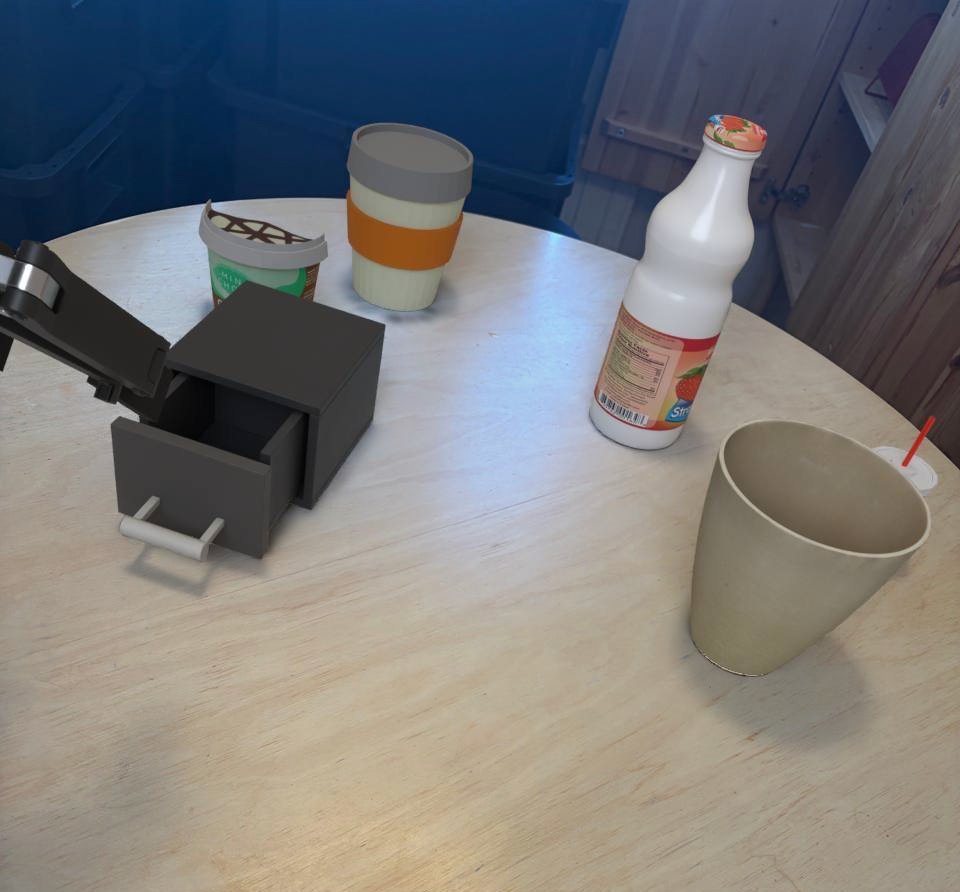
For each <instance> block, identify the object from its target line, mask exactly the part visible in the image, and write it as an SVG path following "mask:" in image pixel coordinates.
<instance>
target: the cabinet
mask: <svg viewBox="0 0 960 892" xmlns="http://www.w3.org/2000/svg"><path fill="white" fill-rule="evenodd" d="M386 327H387V324H385V323H382V322H380V321H376V320H374V319H370V318H367V317H365V316H361V315H357V314H354V313H352V312H348V311H345V310H342V309H340V308H336V307H332V306H329V305H326V304H324V303H320V302H317V301H314V300H313V301H311V300H308V299H305V298H302V297H298V296H295V295H292V294H289V293H286V292H283V291H280V290H277V289H273V288H270V287H267V286H264V285H261V284H258V283H255V282H252V281H248V280H245V281H244V282H243V283H242V284H241V285H240V286H239V287H238V288H237V289H235V290H234V291H233V292H232V293H231V294H230V295H229V296H228V297H227V298H226V299H224V300H223V301H222V302H221V303H220V304H219V305H218V306H217V307H216V308H214V307H213V309H212V310H211V311H210V312H209V313H207V314H206V316H204V317H203V318H202V319H201V320H200V321H199V322H198V323H196V325H194V326H193V327H192V328H191V329H190V330H189V331H188V332H186V333H185V334H184V335H183V336H182V337H181V338H180V339H179V340H178V341H176V342H175V344H173V345H171V346H170V349H169V352H168V356H167V358H166V361H165V364H164V366H166V367H167V368H168V369H169V370H171V371H172V372H173V373H174V374H173V377H172V380H173V379H174V378H175V377H176V376H177V375H178V374H179V373H180V372H183V373H186V374H189V375H192V376H195V377H198V378H201V379H205V380H208V381H211V382H214V383H217V384H220V385H223V386H226V387H229V388H232V389H235V390H238V391H241V392H244V393H247V394H250V395H253V396H257V397H260V398H263V399H266V400H269V401H272V402H275V403H278V404H281V405H284V406H287V407H290V408H293V409H296V410H299V411H302V412H305V413H308V414H310V416H309V428H308V441H307V453H306V466H305V478H304V484H303V485H302V487H301V488H300V489H299V491H298V492H297V493H296V495H295V496H294V498H293V499H292V500H291V502H290V503H289V504H291V505H294V506H297V507H299V508H303V509H306V510H308V511H312V510H313V509H314V506H315V505H316V504H317V502H318V501H319V499H320V498H321V497H322V495H323V494H324V492H325V491H326V489H327V488H328V486H329V485H330V484H331V482H332V481H333V479H334V478H335V477H336V475H337V473H338V472H339V471H340V469H341V468H342V466H343V465H344V464H345V462H346V460H347V459H348V457H349V456H350V455H351V454H352V452H353V451H354V449H355V447H356V446H357V445H358V443H359V442H360V440H361V439H362V437H364V435H365V433H366V431H368V429H369V427H370V426H371V424H372V423H373V421H374V417H375V409H376V402H377V393H378V386H379V378H380V373H381V365H382V364H381V363H382V358H383V357H382V356H383V350H384V349H383V348H384V342H385V335H386V334H385V333H386ZM172 380H171V381H172Z"/></svg>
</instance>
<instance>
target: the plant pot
mask: <svg viewBox="0 0 960 892" xmlns="http://www.w3.org/2000/svg"><path fill="white" fill-rule="evenodd" d="M932 525H933V519H932V514H931V510H930V507H929V505H928V502H927V500H926V498H925V496H924V497H923V495H922V494H921V492H920V491H919V489H918V488H917V487H916V485H915V484H914V483H913V482H912V481H911V480H910V479H909V478H908V476H907V475H906V474H905V473H903V472H902V471H901V470H900V469H899V468H898V467H897V466H895V465H894V464H893V463H892V462H890V461H889V460H888V459H886V458H885V457H883V456H882V455H881V454H879V453H878V452H876V451H874V450H873V448H871V447H869V446H868V445H866V444H864V443H862V442H861V441H859V440H857V439H855V438H852V437H851V436H848V435H846V434H844V433H841V432H840V431H837V430H834V429H832V428H829V427H826V426H823V425H820V424H816V423H812V422H808V421H804V420H798V419H791V418H789V419H788V418H782V417H781V418H778V417H777V418H776V417H775V418H773V417H770V418H768V417H767V418H758V419H752V420H748V421H746V422H742V423H741V424H739V425H735V426H734V427H733V428H731V429H730V430H728V432H727V433H726V434H725V435H724V436H723V438H722V440H721V442H720V444H719V448H718V451H717V455H716V458H715V462H714V465H713V468H712V472H711V476H710V480H709V483H708V487H707V491H706V495H705V499H704V503H703V507H702V511H701V517H700V520H699V527H698V531H697V538H696V545H695V549H694V550H695V551H694V559H693V566H692V574H691V575H692V576H691V577H692V578H691V590H690V592H691V593H690V636H691V635H692V636H691V638H693V639H692V641H693V640H694V642H695V644H696V645H697V647H698V648H699V650H701V651H702V653H703V654H705V656H707V657H708V658H709V659H710V660H712V661H713V662H715V663H717V664H718V665H720V666H721V667H724V668H726V669H728V670H731V671H734V672H738V673H742V674H747V675H761V674H766V673H768V674H770V673H772V672H774V671H775V670H777V669H779V668H780V667H782V666H783V665H785V664H787V663H788V662H790V661H792V660H793V659H795V658H796V657H797V656H799V655H800V654H802V653H803V652H806V651H807V650H808V649H809V648H811V647H812V646H814V645H815V644H816V643H819V641H820V640H822V639H823V638H825V637H826V636H827V635H828V634H830V633H831V632H832V631H834V630H835V629H836V628H837V627H839V626H840V625H841V624H842V623H844V622H845V621H846V620H848V618H849V617H851V616H852V615H853V614H854V613H856V611H857V610H859V609H860V608H862V606H864V605H865V603H867V602H868V601H869V600H870V599H871V598H872V597H873V596H874V595H875V594H877V592H879V591H880V590H881V588H883V587H884V586H885V585H886V584H887V583H888V582H889V580H891V579H892V577H894V575H895V574H896V573H897V572H898V571H900V570H901V568H902V567H903V566H904V565H905V564H906V563H907V562H908V561H909V560H910V559H911V558H912V557H913V556H914V555H915V553H916V552H917V551H919V550H920V548H921V547H922V546H923V545H924V544H925V542H926V541H927V540H928V538H929V536H930V535H931V532H932ZM694 642H693V643H694ZM695 644H694V645H695ZM696 645H695V646H696ZM697 647H696V648H697ZM698 648H697V649H698ZM699 650H698V651H699ZM769 672H770V673H769ZM766 675H767V674H766Z"/></svg>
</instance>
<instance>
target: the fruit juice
mask: <svg viewBox="0 0 960 892" xmlns="http://www.w3.org/2000/svg"><path fill="white" fill-rule="evenodd" d="M767 138H768V133H767V131H766V130H765V129H764V128H763V127H762V126H760V125H759V124H757V123H754V122H753V121H750V120H747V119H744V118H742V117H738V116H733V115H728V114H715V115H714V114H713V115H711V116H710V117H709V119H708V120H707V122H706V125H705V127H704V130H703V135H702V142H703V147H702V149H701V152H700V154H699V156H698V158H697V160H696V162H695V163H694V165H693V166H692V168H691V169H690V171H689V172H688V174H687V175H686V177H685V178H684V179H683V181H682V182H681V183H680V184H679V185H678V186H677V187H675V189H673V190H672V191H670V192H669V193H668V194H666V195H665V196H664V197H663V198H662V199H661V200H660V201H659V202H658V203H657V204H656V205H655V207H654V208H653V210H652V211H651V212H652V213H650V217H649V219H648V222H647V225H646V231H645V241H644V243H645V244H644V253H643V256H642V257H641V259H640V260H639V261H638V262H636V264H635V266H634V268H633V269H632V271H631V274H630V277H629V279H628V281H627V285H626V287H625V290H624V292H623V296H622V300H621V303H620V307H619V309H618V313H617V316H616V318H615V319H616V320H615V322H614V326H613V329H612V331H611V335H610V338H609V341H608V345H607V348H606V350H605V354H604V357H603V361H602V364H601V367H600V371H599V374H598V377H597V380H596V384H595V387H594V390H593V393H592V396H591V400H590V405H589V414H590V419H591V421H592V423H593V425H594V426H595V427H596V428H597V429H598V430H599V432H601V433H602V434H603V435H604V436H606V437H607V438H609V439H611V440H612V441H614V442H617V443H619V444H621V445H623V446H626V447H630V448H634V449H639V450H651V451H652V450H660V449H661V450H662V449H664V448H667V447H669V446H671V445H672V444H674V443H675V442H676V441H677V440H678V439H679V437H680V435H681V433H682V431H683V430H684V428H685V425H686V423H687V420H688V417H689V414H690V412H691V409H692V407H693V405H694V401H695V398H696V397H697V395H698V391H699V389H700V386H701V385H702V382H703V379H704V378H705V377H704V376H705V374H706V372H707V368H708V366H709V363H710V361H711V359H712V356H713V354H714V352H715V348H716V346H717V344H718V341H719V338H720V336H721V334H722V331H723V329H724V327H725V324H726V321H727V319H728V315H729V312H730V309H731V305H732V303H733V302H732V301H733V284H734V282H735V279H736V278H737V276H738V275H739V274H740V272H741V271H742V269H743V268H744V267H745V266H746V263H747V262H748V260H749V259H750V256H751V253H752V250H753V246H754V243H755V242H754V241H755V228H754V223H753V219H752V215H751V214H750V213H751V212H750V210H749V199H748V198H749V189H750V185H749V184H750V179H751V173H752V170H753V166H754V163H755V161H756V160H757V159H758V158H759V157H760V156H761V155H762V152H763V150H764V149H765V146H766V142H767Z"/></svg>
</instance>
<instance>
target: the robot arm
mask: <svg viewBox="0 0 960 892" xmlns="http://www.w3.org/2000/svg"><path fill="white" fill-rule="evenodd" d="M19 245H20V246H19V247H18V248H17V249H16V252H14V250H13V249H12V247H11V246H9V245H8V244H7V243H5V242H4V241H2V240H0V372H4V370H5V367H6V364H7V361H8V358H9V355H10V352H11V350H12V347H13V344H14V341H15V340H16V341H17V342H20V343H22V344H24V345H26V346H27V347H30V348H32V349H34V350H36V351H38V352H40V353H42V354H43V355H46V356H48V357H49V358H52V359H54V360H56V361H57V362H60V363H62V364H64V365H66V366H68V367H70V368H71V369H74V370H76V371H78V372H80V373H82V374H83V375H86V376H87V378H86V384H89V385H91V386H92V387H94V388H95V391H94V393H93V398H95V399H97V400H100V401H102V402H104V403H107V404H110V405H117V404H118V403H119V404H120V405H122V406H123V407H125V408H126V409H128V410H130V411H131V412H132V413H134V414H136V415H138V417H139V416H141V417H142V418H144V419H147V420H150V421H153V422H156V423H157V421H158V418H159V415H160V412H161V409H162V407H163V404H164V401H165V398H166V395H167V392H168V389H169V386H170V383H171V380H172V377H173V374H174V373H173V372H172V371H171V370H169V369H168V368H167V367H166V366H164V364H165V361H166V358H167V356H168V352H169V349H170V348H171V347H172V343H171V342H170V341H168V340H167V339H165V337H164V336H163V335H161V334H159V333H157V331H155V330H153V329H152V328H151V327H149V326H148V325H147V324H145V323H144V322H142V321H141V320H139V319H138V318H136V317H135V316H133V315H132V314H131V313H130V312H128V311H127V310H126V309H124V308H123V307H122V306H121V305H118V304H117V303H116V302H114V301H113V300H112V299H110V298H109V297H107V296H106V295H105V294H103V293H102V292H101V291H99V290H98V289H96V288H95V287H94V286H92V285H91V284H90V283H88V282H87V281H86V280H84V279H82V277H80V276H78V275H77V274H76V273H75V272H73V271H72V270H71V269H70V268H69V267H68V265H66V263H65V262H64V261H63V260H62V258H60V256H59V255H58V254H56V253H55V252H54V251H52V250H51V249H50V247H49V246H48V245H46V244H44V243H42V242H40V241H37V240H31V239H23V240H21V242H20V244H19Z"/></svg>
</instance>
